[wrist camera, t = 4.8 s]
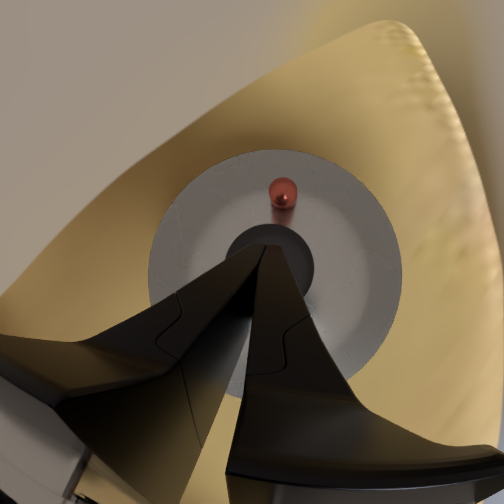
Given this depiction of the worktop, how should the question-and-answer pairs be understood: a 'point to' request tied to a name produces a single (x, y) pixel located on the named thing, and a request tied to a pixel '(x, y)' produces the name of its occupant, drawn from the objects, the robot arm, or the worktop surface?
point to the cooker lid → (290, 244)
